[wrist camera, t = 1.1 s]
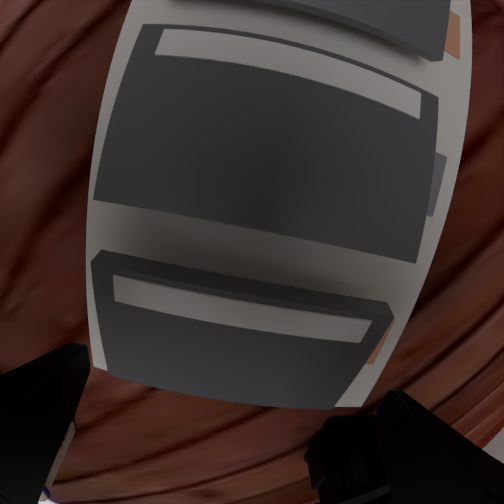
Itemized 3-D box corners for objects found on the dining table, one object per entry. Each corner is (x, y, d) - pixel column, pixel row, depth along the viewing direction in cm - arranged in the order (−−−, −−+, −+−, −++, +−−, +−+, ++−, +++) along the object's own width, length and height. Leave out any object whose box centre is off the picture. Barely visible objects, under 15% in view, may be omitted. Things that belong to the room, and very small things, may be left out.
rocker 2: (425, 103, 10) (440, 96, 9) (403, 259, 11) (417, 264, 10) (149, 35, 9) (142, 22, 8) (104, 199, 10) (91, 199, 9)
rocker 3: (386, 301, 12) (395, 318, 11) (328, 395, 15) (331, 411, 14) (101, 249, 11) (89, 263, 10) (114, 361, 14) (108, 376, 13)
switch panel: (452, -8, 10) (480, -23, 7) (353, 387, 19) (366, 421, 16) (188, -81, 8) (180, -111, 5) (104, 348, 18) (85, 380, 14)
